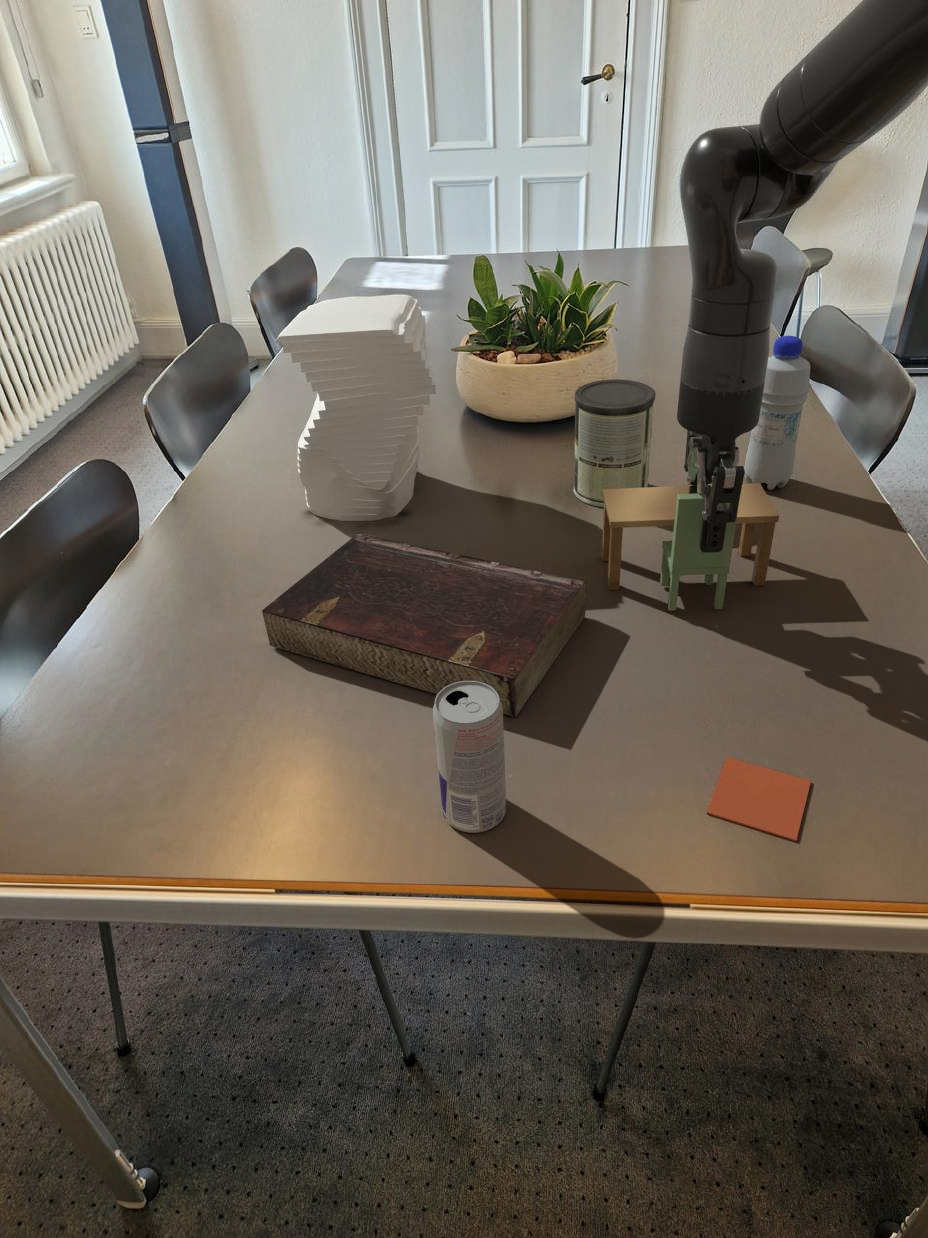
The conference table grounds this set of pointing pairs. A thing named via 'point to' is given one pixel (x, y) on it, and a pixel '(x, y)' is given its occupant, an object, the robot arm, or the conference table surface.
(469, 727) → the energy drink
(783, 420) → the bottle
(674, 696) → the conference table surface
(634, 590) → the conference table surface
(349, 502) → the paper stack
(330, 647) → the hardback book
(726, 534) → the chair
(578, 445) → the coffee can
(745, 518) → the model table
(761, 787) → the felt mat
